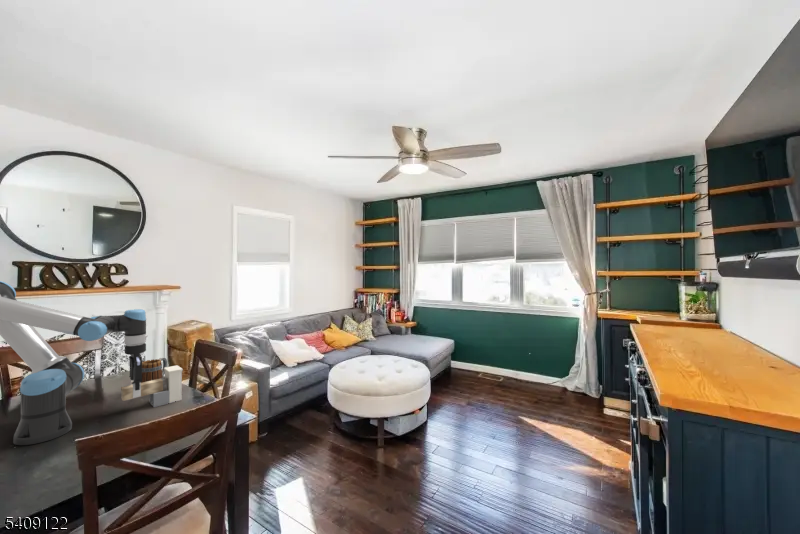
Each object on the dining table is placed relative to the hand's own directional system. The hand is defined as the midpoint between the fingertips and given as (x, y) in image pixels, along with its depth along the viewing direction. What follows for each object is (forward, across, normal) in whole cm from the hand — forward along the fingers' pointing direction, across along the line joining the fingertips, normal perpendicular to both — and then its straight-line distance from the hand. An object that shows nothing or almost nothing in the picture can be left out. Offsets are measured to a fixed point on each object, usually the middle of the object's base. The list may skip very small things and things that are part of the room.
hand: (135, 395), depth 148 cm
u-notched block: (+6, 0, -12) cm, 13 cm away
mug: (+6, +23, -12) cm, 27 cm away
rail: (0, 0, -3) cm, 3 cm away
